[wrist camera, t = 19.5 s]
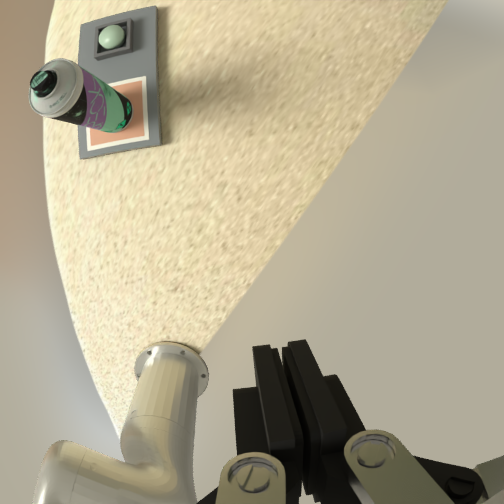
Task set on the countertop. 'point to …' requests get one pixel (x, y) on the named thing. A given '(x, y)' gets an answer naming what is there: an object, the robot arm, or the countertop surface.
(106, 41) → the button
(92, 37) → the picture board
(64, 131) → the countertop surface
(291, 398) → the robot arm
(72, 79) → the spray can
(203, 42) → the countertop surface
